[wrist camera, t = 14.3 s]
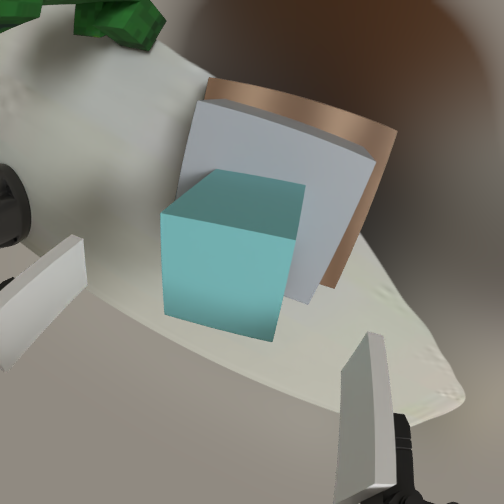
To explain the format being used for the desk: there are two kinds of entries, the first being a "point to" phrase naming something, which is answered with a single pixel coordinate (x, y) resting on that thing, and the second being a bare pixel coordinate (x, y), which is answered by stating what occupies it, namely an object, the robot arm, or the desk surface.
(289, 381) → the desk surface
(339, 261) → the tower base
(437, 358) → the desk surface
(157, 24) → the toy
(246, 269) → the block
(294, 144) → the tower top
